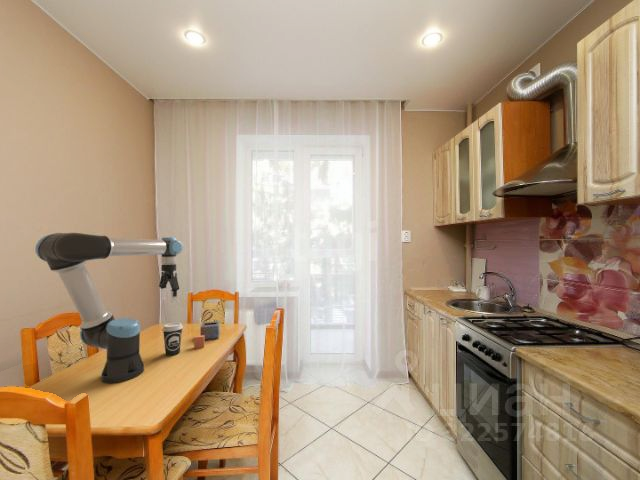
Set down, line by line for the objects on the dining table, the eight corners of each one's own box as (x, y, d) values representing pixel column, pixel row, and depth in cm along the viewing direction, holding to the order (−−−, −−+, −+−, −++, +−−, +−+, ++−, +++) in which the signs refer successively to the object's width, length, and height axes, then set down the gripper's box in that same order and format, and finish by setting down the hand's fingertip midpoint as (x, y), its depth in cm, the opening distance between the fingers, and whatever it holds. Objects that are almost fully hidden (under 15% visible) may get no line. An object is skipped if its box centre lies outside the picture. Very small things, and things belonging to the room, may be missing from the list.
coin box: (218, 338, 160) (218, 325, 160) (200, 340, 157) (200, 327, 157) (219, 333, 169) (219, 320, 169) (203, 335, 166) (203, 322, 167)
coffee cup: (186, 350, 143) (186, 322, 143) (175, 357, 133) (175, 327, 133) (170, 349, 144) (170, 321, 144) (157, 357, 134) (157, 327, 134)
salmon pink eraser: (203, 347, 146) (203, 336, 146) (193, 348, 145) (193, 337, 145) (204, 345, 148) (204, 335, 149) (194, 347, 147) (194, 336, 147)
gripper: (186, 264, 149) (185, 302, 148) (166, 263, 164) (165, 297, 163) (172, 265, 143) (171, 304, 142) (152, 263, 158) (152, 299, 157)
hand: (168, 301), depth 153 cm, fingers open, 13 cm apart
